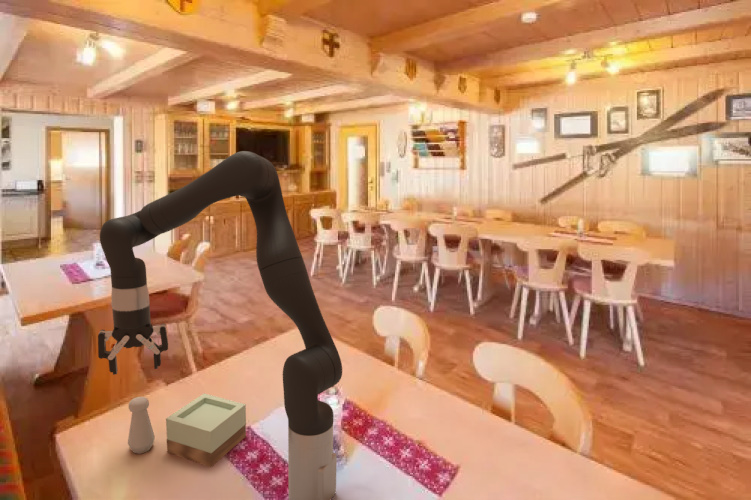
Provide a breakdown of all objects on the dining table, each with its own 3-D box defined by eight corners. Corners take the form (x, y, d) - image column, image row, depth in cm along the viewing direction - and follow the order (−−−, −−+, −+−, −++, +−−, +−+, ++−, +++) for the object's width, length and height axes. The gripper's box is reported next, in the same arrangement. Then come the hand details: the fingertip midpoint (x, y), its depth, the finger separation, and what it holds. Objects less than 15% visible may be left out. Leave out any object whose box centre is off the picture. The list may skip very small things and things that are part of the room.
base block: (246, 438, 119) (245, 424, 118) (210, 469, 107) (210, 453, 106) (205, 426, 124) (205, 412, 123) (167, 454, 112) (166, 439, 111)
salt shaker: (144, 457, 109) (140, 407, 107) (122, 454, 110) (118, 404, 108) (160, 443, 115) (157, 395, 112) (139, 439, 116) (136, 392, 113)
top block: (246, 423, 118) (245, 404, 117) (211, 453, 106) (210, 431, 105) (205, 412, 123) (204, 393, 122) (167, 439, 111) (165, 418, 110)
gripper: (165, 296, 111) (169, 359, 115) (97, 302, 106) (103, 367, 109) (165, 306, 104) (169, 372, 108) (92, 312, 99) (98, 382, 102)
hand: (136, 370), depth 108 cm, fingers open, 8 cm apart
